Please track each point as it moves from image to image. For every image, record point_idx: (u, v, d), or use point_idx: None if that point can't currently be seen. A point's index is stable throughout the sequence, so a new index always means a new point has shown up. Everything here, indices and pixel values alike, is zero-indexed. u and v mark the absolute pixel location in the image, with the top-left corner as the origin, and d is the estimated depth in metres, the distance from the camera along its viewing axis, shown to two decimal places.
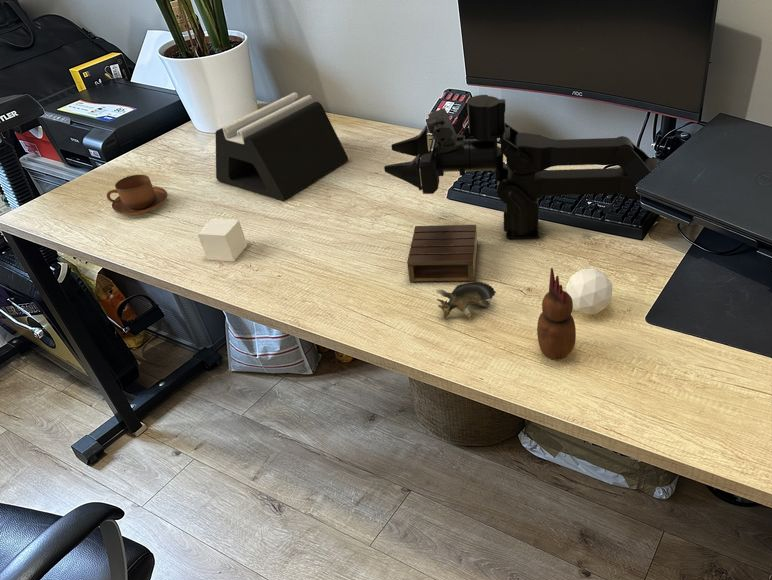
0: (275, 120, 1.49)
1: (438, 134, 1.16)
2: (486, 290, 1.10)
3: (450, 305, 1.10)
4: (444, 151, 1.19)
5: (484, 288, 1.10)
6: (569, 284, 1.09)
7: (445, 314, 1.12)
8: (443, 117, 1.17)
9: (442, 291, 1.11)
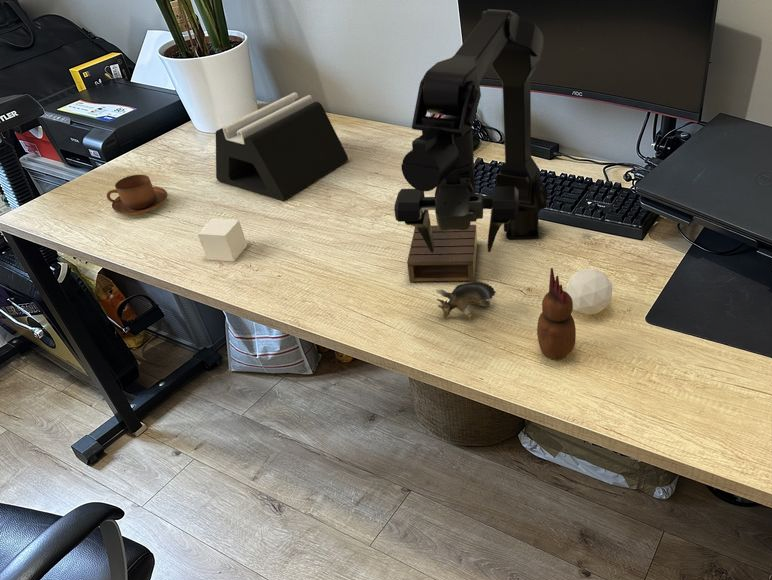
0: (275, 120, 1.49)
1: None
2: (486, 290, 1.10)
3: (450, 305, 1.10)
4: None
5: (484, 288, 1.10)
6: (569, 284, 1.09)
7: (445, 314, 1.12)
8: (460, 212, 0.92)
9: (442, 291, 1.11)
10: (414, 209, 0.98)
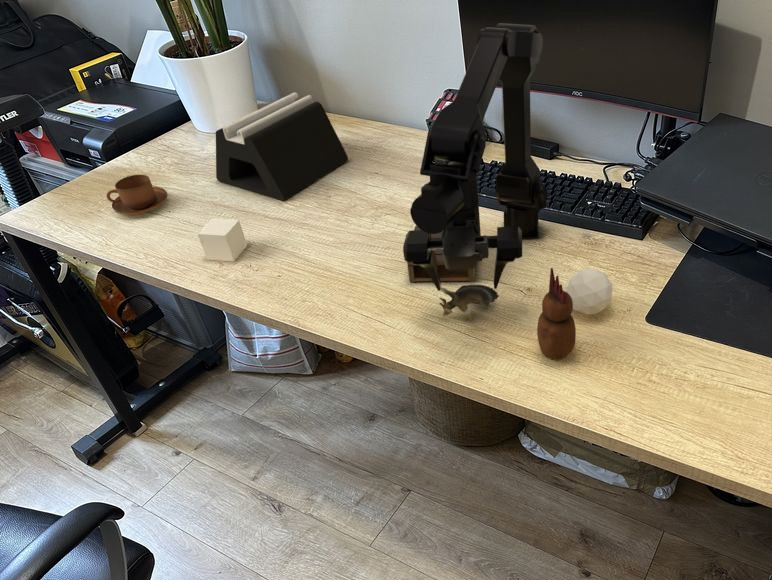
0: (275, 120, 1.49)
1: (488, 251, 0.98)
2: (489, 293, 1.10)
3: (452, 305, 1.10)
4: None
5: (488, 291, 1.09)
6: (569, 284, 1.09)
7: (446, 313, 1.11)
8: (467, 253, 0.96)
9: (445, 290, 1.10)
10: (422, 250, 1.02)
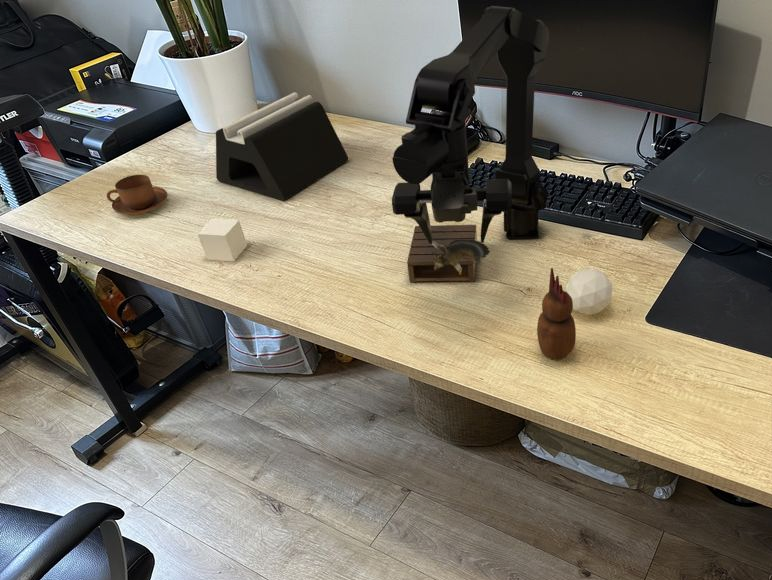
0: (275, 120, 1.49)
1: None
2: (481, 249, 1.10)
3: (443, 259, 1.10)
4: None
5: (479, 247, 1.09)
6: (569, 284, 1.09)
7: (436, 267, 1.11)
8: (455, 205, 0.95)
9: (436, 244, 1.10)
10: (411, 202, 1.01)
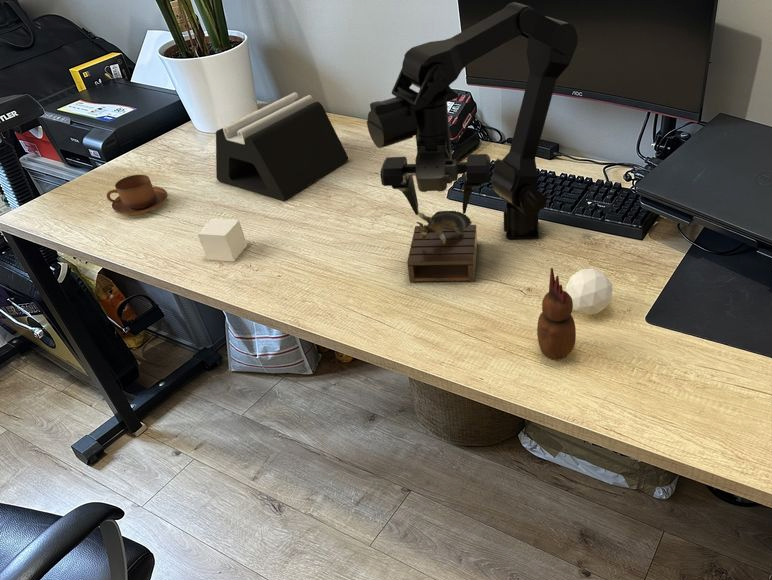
0: (275, 120, 1.49)
1: (457, 174, 1.07)
2: (463, 220, 1.19)
3: (428, 229, 1.19)
4: None
5: (461, 218, 1.19)
6: (569, 284, 1.09)
7: (422, 236, 1.21)
8: (437, 175, 1.05)
9: (422, 215, 1.19)
10: (398, 174, 1.11)
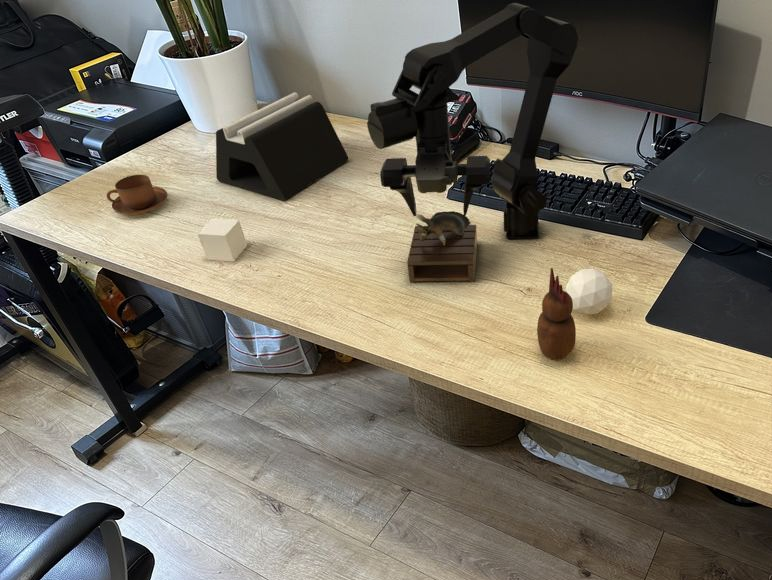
0: (275, 120, 1.49)
1: (457, 176, 1.07)
2: (462, 220, 1.19)
3: (427, 230, 1.20)
4: None
5: (460, 218, 1.19)
6: (569, 284, 1.09)
7: (422, 238, 1.21)
8: (437, 176, 1.05)
9: (421, 216, 1.20)
10: (397, 175, 1.11)
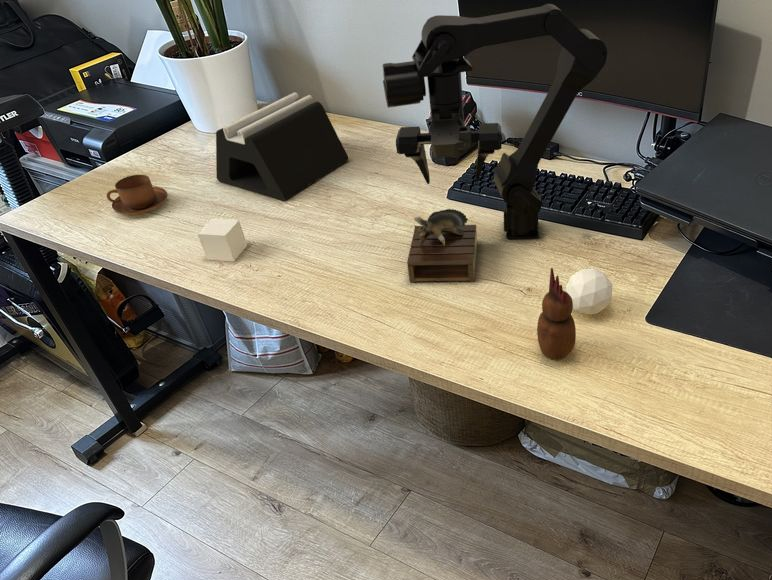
0: (276, 120, 1.49)
1: None
2: (459, 217, 1.20)
3: (426, 231, 1.20)
4: None
5: (457, 215, 1.19)
6: (569, 284, 1.09)
7: (421, 240, 1.21)
8: (452, 141, 1.09)
9: (419, 218, 1.21)
10: (412, 142, 1.15)
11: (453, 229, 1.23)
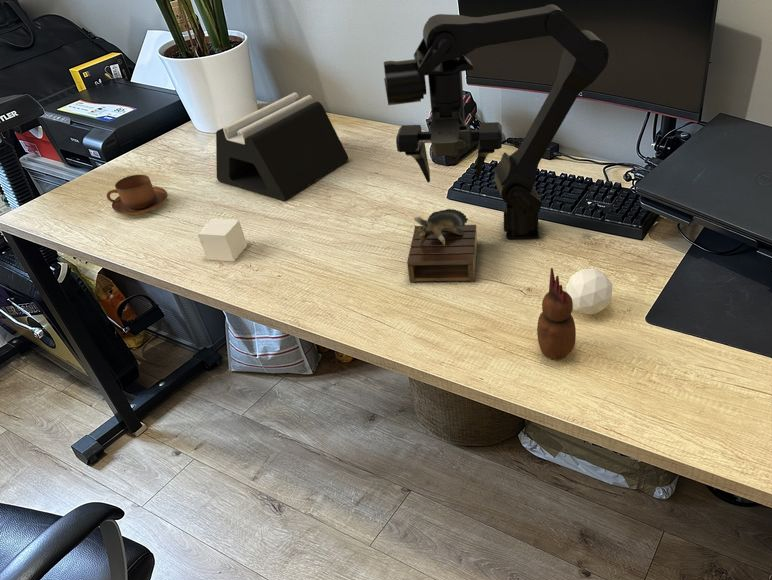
0: (276, 120, 1.49)
1: None
2: (459, 217, 1.20)
3: (426, 231, 1.20)
4: None
5: (457, 215, 1.19)
6: (569, 284, 1.09)
7: (421, 240, 1.21)
8: (452, 140, 1.09)
9: (419, 218, 1.21)
10: (413, 141, 1.15)
11: (453, 229, 1.23)
